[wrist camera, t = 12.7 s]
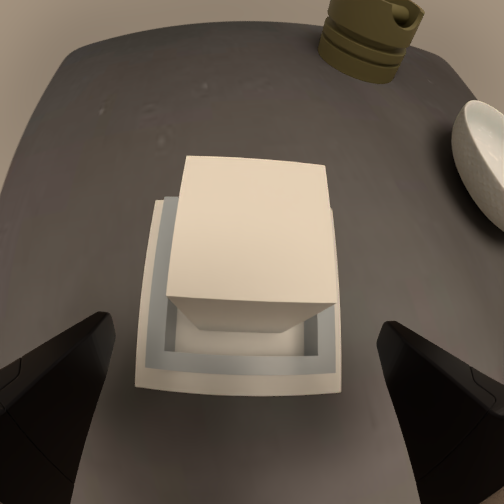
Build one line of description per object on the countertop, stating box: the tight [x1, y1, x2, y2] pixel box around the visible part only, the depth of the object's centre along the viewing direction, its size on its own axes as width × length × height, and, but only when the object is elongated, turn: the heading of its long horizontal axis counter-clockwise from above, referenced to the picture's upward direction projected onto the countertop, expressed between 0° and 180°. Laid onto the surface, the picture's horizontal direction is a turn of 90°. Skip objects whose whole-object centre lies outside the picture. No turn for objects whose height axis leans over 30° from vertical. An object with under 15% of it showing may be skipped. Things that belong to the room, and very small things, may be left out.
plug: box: [166, 156, 337, 333], centre depth 14 cm, size 5×5×10 cm
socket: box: [135, 197, 341, 396], centre depth 18 cm, size 13×13×4 cm
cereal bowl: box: [451, 100, 504, 232], centre depth 22 cm, size 17×17×7 cm
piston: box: [318, 0, 425, 84], centre depth 26 cm, size 11×12×11 cm
